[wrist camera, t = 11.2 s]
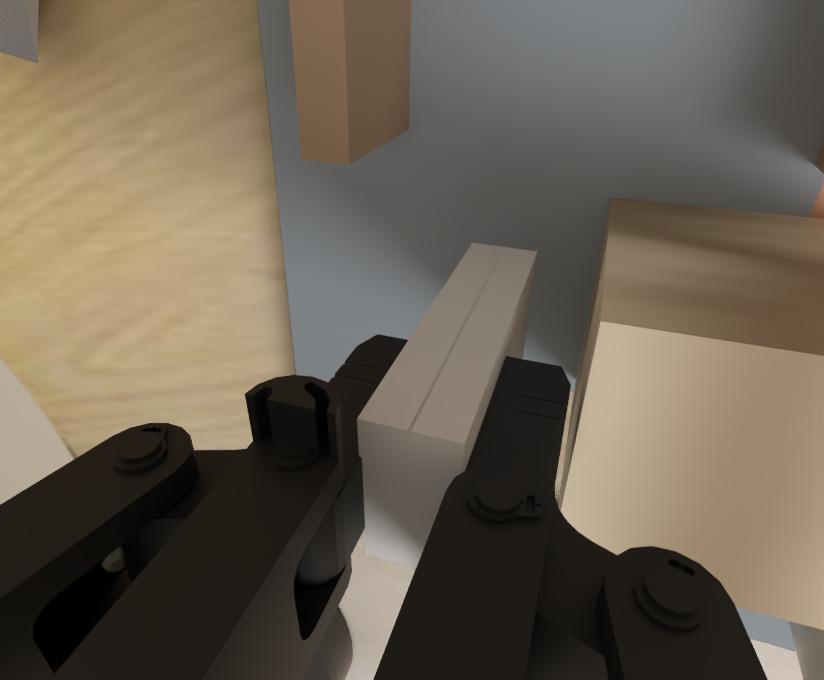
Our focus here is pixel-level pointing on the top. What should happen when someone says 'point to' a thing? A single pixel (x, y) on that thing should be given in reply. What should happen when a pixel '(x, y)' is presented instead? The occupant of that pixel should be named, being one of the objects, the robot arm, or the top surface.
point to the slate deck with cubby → (521, 148)
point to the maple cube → (706, 399)
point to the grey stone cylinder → (809, 650)
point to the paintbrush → (19, 28)
